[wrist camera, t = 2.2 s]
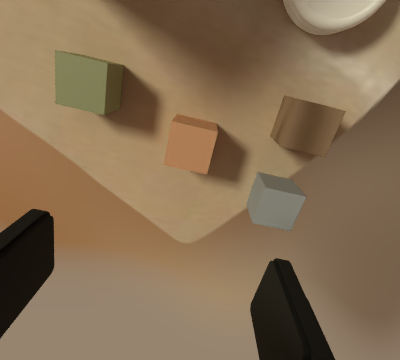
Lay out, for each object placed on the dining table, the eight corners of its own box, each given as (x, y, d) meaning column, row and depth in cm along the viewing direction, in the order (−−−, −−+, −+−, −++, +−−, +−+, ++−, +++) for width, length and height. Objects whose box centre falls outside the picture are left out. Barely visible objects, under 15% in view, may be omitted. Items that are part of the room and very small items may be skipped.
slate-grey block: (292, 179, 33) (306, 196, 28) (279, 210, 35) (290, 231, 30) (257, 171, 32) (265, 187, 28) (246, 203, 34) (252, 222, 30)
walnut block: (323, 105, 29) (345, 111, 24) (307, 144, 31) (324, 157, 26) (284, 95, 28) (298, 99, 24) (269, 136, 30) (281, 146, 26)
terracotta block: (216, 123, 30) (218, 131, 25) (207, 160, 32) (207, 174, 27) (177, 114, 30) (171, 121, 25) (170, 151, 32) (163, 164, 27)
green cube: (124, 65, 28) (107, 63, 23) (120, 108, 30) (104, 115, 25) (80, 54, 27) (54, 50, 23) (79, 99, 29) (55, 103, 25)
